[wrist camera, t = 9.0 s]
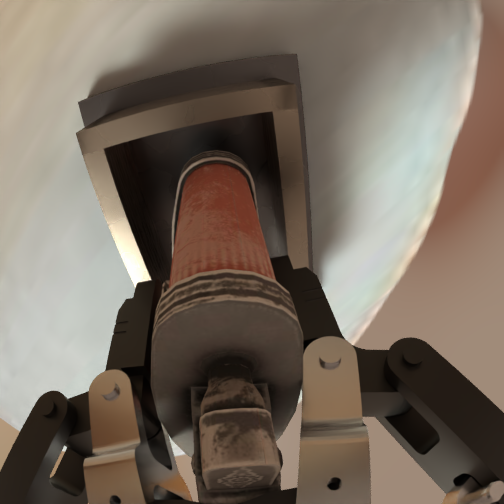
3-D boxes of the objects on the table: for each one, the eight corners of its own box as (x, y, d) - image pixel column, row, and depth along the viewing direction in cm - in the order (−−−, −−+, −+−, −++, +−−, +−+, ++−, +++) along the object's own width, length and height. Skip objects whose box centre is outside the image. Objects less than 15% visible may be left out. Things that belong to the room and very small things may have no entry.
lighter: (168, 151, 10) (86, 463, 2) (263, 150, 11) (398, 440, 3) (181, 315, 15) (182, 526, 7) (250, 313, 16) (286, 519, 7)
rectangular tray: (168, 323, 19) (164, 375, 16) (86, 98, 11) (45, 116, 8) (309, 298, 20) (327, 348, 16) (290, 54, 11) (321, 53, 8)
